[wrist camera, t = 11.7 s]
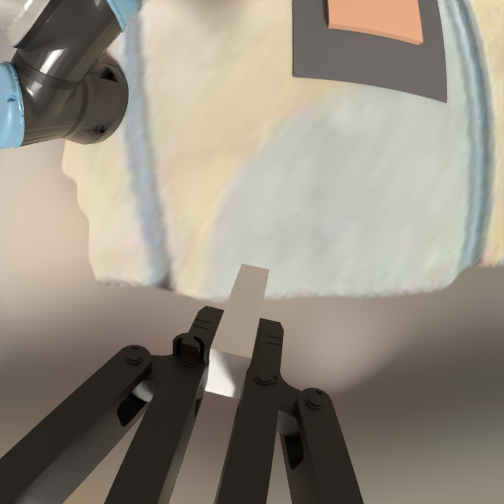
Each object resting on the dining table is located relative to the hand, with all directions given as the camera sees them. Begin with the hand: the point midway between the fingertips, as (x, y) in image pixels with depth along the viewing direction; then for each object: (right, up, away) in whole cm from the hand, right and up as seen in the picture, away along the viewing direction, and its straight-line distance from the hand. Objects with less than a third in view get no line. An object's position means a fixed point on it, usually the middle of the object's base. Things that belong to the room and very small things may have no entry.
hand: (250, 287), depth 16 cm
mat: (+18, +39, +12) cm, 44 cm away
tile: (+18, +33, +12) cm, 39 cm away
